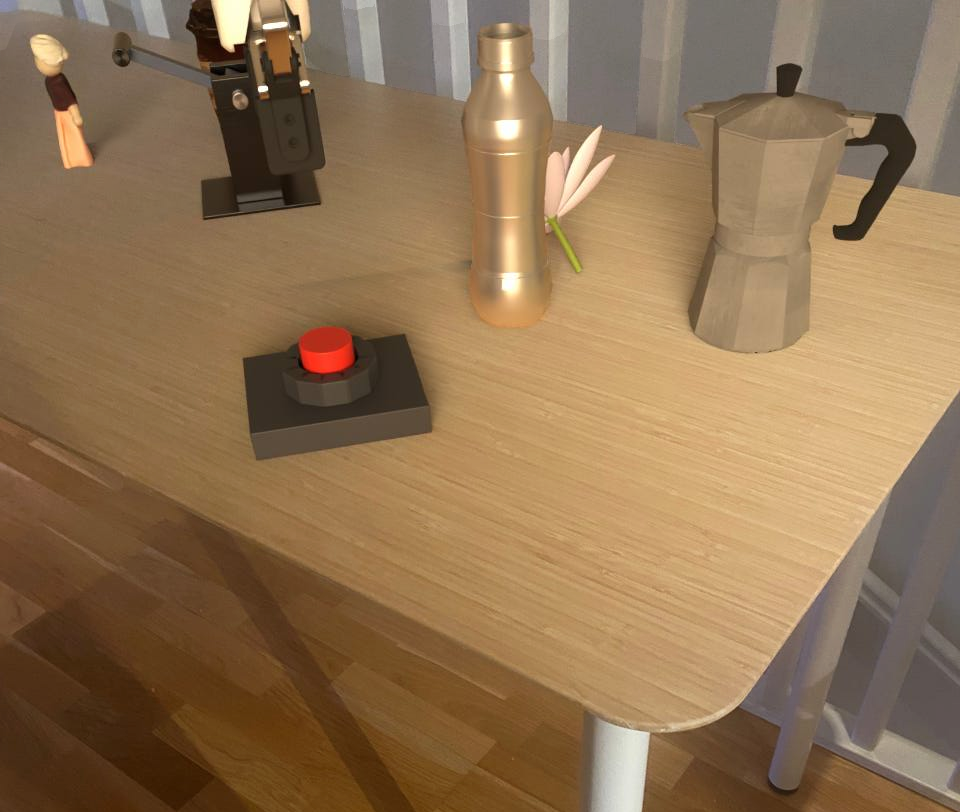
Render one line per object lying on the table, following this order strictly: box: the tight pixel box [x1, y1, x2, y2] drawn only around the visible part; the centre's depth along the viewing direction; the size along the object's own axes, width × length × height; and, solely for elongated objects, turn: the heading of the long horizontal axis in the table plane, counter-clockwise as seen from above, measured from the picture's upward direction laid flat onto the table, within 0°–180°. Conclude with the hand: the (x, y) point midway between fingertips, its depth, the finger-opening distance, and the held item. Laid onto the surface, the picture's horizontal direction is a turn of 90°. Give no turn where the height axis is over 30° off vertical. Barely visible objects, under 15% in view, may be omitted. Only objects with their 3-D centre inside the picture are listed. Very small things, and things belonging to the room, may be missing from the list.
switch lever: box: [111, 31, 240, 89], centre depth 87 cm, size 12×5×2 cm, turn 102°
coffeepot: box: [681, 62, 918, 354], centre depth 69 cm, size 15×9×18 cm, turn 67°
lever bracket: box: [200, 59, 322, 221], centre depth 91 cm, size 11×9×12 cm
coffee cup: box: [185, 0, 248, 133], centre depth 103 cm, size 9×8×13 cm
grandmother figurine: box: [29, 33, 94, 170], centre depth 99 cm, size 8×4×13 cm, turn 43°
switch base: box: [242, 333, 433, 462], centre depth 69 cm, size 12×10×4 cm
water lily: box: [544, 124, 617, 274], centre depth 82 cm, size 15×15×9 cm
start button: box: [298, 326, 355, 375], centre depth 67 cm, size 4×4×2 cm
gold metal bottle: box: [460, 22, 554, 328], centre depth 71 cm, size 6×7×20 cm
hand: (289, 140), depth 59 cm, fingers open, 9 cm apart
